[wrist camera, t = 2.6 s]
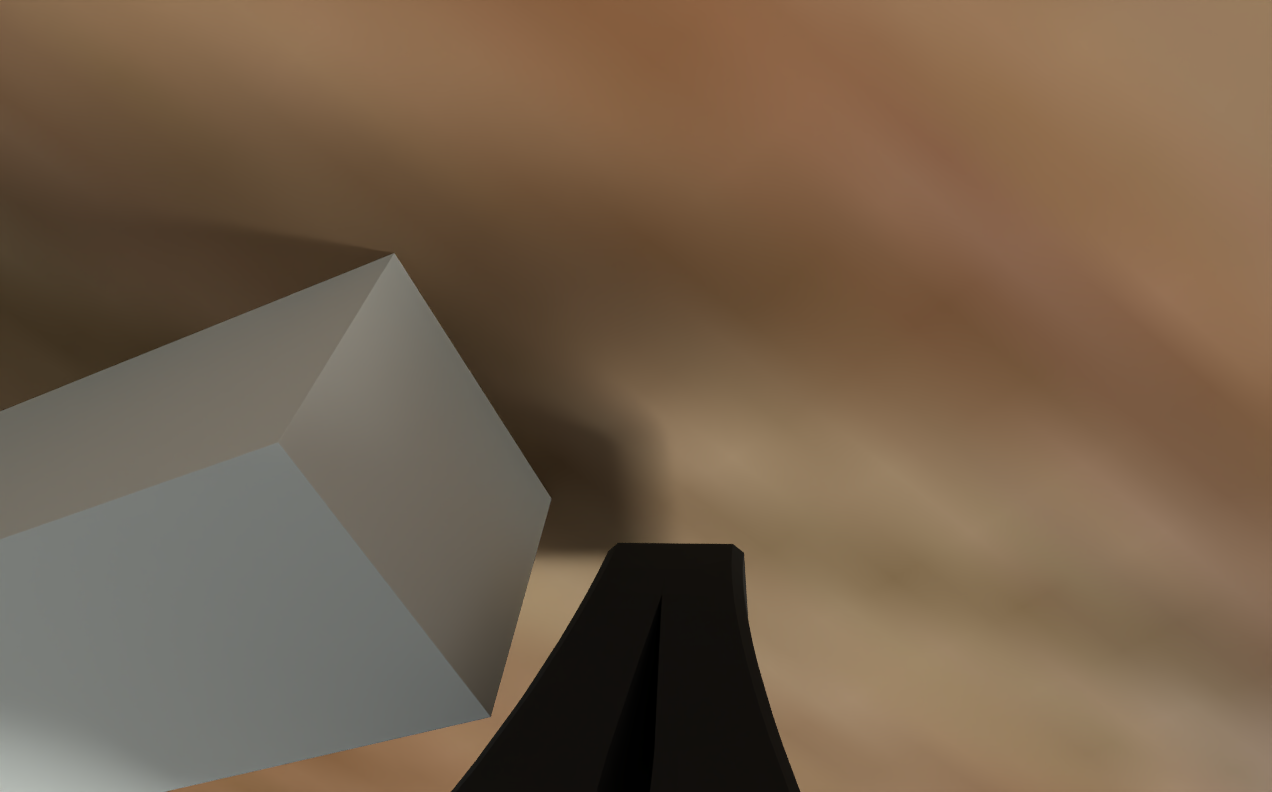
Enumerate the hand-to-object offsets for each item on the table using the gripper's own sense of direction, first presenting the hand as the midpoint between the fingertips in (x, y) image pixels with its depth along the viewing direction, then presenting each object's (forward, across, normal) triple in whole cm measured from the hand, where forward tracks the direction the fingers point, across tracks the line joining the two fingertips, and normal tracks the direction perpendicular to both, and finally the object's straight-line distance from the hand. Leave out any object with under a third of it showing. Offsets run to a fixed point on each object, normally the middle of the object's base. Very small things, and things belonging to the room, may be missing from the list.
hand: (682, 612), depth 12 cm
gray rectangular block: (+2, +8, 0) cm, 8 cm away
